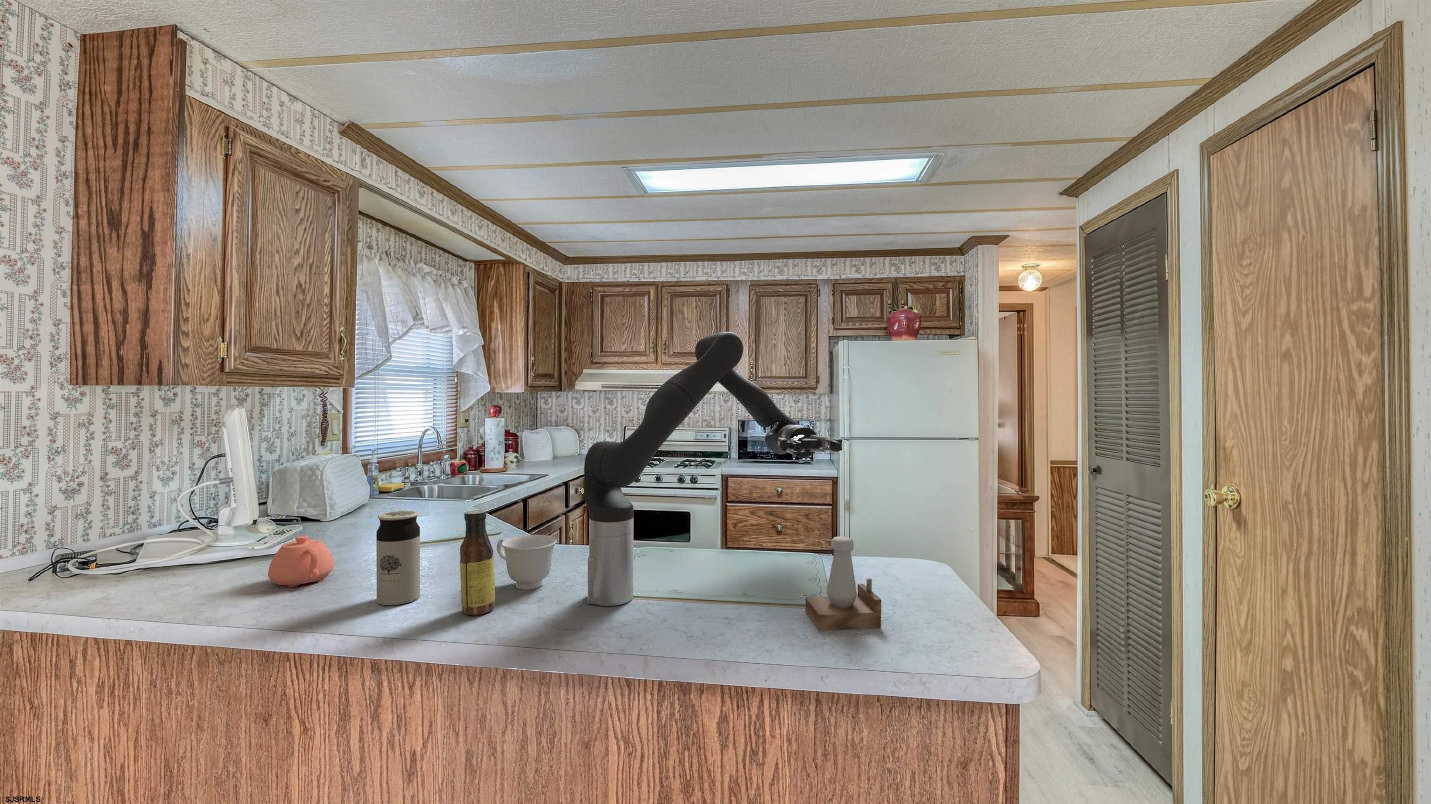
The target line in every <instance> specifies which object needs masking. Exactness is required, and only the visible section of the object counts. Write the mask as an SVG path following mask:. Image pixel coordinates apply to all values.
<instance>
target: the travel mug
mask: <svg viewBox="0 0 1431 804" xmlns="http://www.w3.org/2000/svg"><path fill="white" fill-rule="evenodd" d="M419 514H420V513H419V512H418V511H417V510H409V509H408V510H406V509H405V510H394V511H386V512H382V513H380V514H379V515H377V518H378V520H379V526H378V528H377V529H376V533H375V534H376V535H375V537H376V541H375V542H376V543H375V544H376V553H375V554H376V555H375V556H376V603H377V604H379V605H382V606H401V605H405V604H409V603H412V602H413V601H416V600H417V599H418V598H419V597H420V596H421V527H420V526H419V523H418V522H417V518H418V516H419Z"/></svg>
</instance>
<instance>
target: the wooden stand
mask: <svg viewBox="0 0 1431 804" xmlns="http://www.w3.org/2000/svg"><path fill="white" fill-rule="evenodd" d="M872 586H873V579H872V578H869V577H868V578H866V583H857V586H856V590H857V597H856V599H855V602H854V604H853V606H851V607H849V608H837V607H835V606H833V605H831V603H830V601H829V598H828V596H812V597H811V596H810V597H809V596H807V597H805V605H804V606H805V607H804V608H805V609H804V610H805V611H804V612H805V614H806V615H807V617H808V618H809V620H810V621H811V622H812V623H813V625H814V626H815V627H816V629H817V630H818V632H821V631H823V632H824V631H828V630H829V631H847V630H848V631H849V630H868V629H869V630H870V629H872V630H873V629H881V628H882V598H881V597H879V596H878V595H877V594H876V593H875V592H873V591H872V589H873V587H872Z"/></svg>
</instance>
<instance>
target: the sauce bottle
mask: <svg viewBox="0 0 1431 804" xmlns="http://www.w3.org/2000/svg"><path fill="white" fill-rule="evenodd" d="M463 519H464V521H465V532H464V534H465V535H464V538H463V541H462V542H461V544H460V548H459V559H460V561H459V571H460V572H459V573H460V602H461V603H460V605H461V606H462V607H461V611H462V613H463V614H465V615H467V616H479V615H480V616H481V615H483V614H484V615H485V614H487V613H490V612H492V611H493V610H494V608H495V603H496V591H495V590H496V589H495V587H496V586H495V584H496V583H495V564H494V563H495V561H494V557H495V556H494V549H493V545H492V543H491V541H490V538H489V535H488V532H487V527H486V520H487V511H486V510H485V509H472V510H468V511H465V512H464V514H463Z"/></svg>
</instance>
